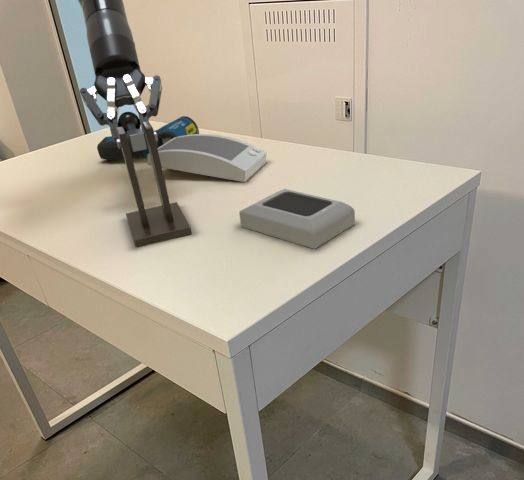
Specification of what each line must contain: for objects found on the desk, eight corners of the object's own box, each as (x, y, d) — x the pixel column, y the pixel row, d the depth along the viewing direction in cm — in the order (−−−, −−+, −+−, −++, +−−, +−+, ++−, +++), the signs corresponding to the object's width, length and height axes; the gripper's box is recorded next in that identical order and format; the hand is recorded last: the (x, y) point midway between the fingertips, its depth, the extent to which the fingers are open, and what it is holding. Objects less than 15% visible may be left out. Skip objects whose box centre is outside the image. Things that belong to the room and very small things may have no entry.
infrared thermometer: (130, 149, 133) (203, 143, 126) (100, 168, 123) (178, 162, 116) (121, 122, 129) (197, 114, 122) (91, 139, 120) (170, 132, 112)
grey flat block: (279, 183, 90) (354, 200, 81) (281, 205, 92) (354, 224, 83) (238, 204, 85) (313, 224, 76) (241, 226, 87) (314, 249, 78)
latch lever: (120, 134, 92) (114, 111, 90) (141, 129, 93) (136, 107, 91) (129, 157, 82) (123, 132, 80) (153, 152, 83) (147, 127, 80)
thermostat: (247, 183, 103) (243, 152, 99) (151, 179, 110) (144, 150, 107) (267, 163, 111) (264, 134, 107) (177, 160, 118) (171, 133, 115)
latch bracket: (127, 219, 94) (101, 124, 85) (178, 208, 96) (157, 113, 87) (135, 247, 85) (107, 143, 76) (191, 233, 87) (170, 130, 77)
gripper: (63, 39, 88) (84, 136, 85) (151, 25, 89) (174, 119, 87) (76, 70, 95) (95, 160, 93) (156, 57, 97) (177, 145, 94)
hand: (133, 140), depth 90 cm, fingers closed on latch lever, 3 cm apart
